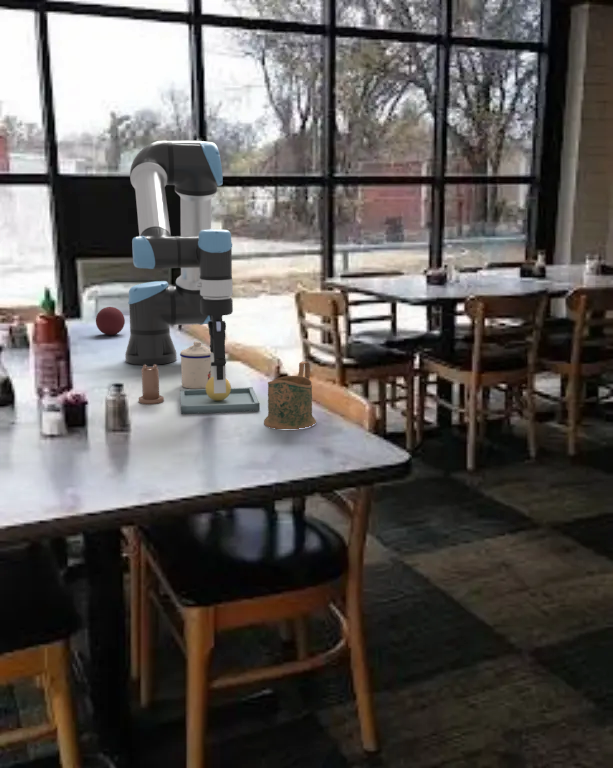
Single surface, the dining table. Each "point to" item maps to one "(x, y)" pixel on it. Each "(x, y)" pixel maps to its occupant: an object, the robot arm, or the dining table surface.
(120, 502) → the dining table surface
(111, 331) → the decorative ball
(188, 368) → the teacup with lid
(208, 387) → the ball
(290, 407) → the brown green vessel
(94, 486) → the dining table surface
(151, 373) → the stand cup
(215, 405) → the tray
